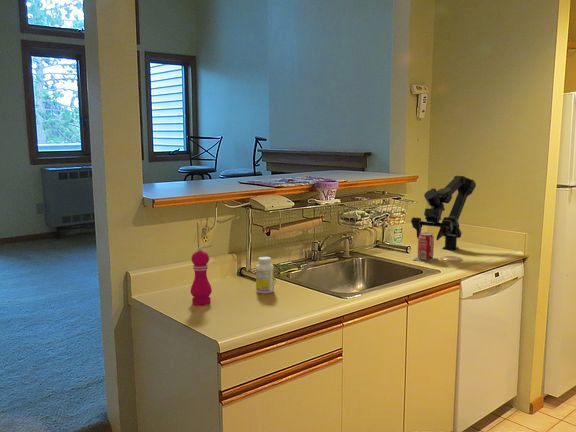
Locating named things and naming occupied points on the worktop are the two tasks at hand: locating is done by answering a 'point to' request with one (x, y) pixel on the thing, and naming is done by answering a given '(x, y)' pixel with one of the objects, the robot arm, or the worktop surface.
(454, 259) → the disc
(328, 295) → the worktop surface
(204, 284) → the pepper mill
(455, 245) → the robot arm
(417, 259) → the coaster
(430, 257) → the soda can
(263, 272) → the supplement bottle
